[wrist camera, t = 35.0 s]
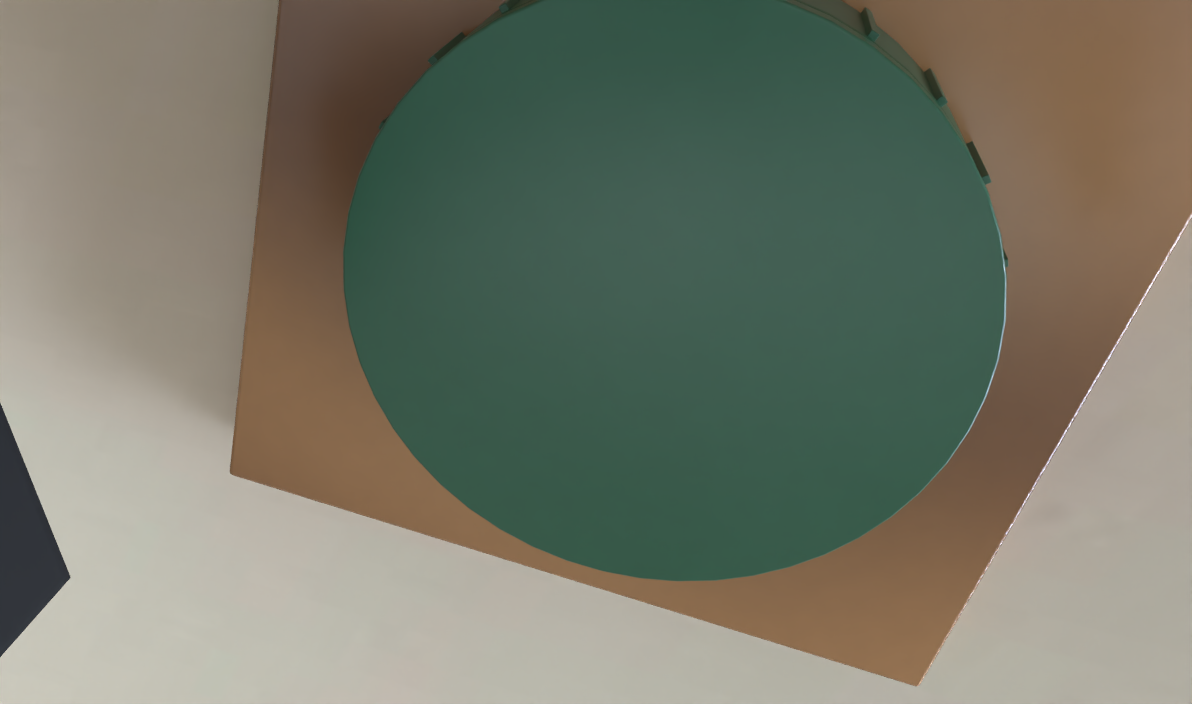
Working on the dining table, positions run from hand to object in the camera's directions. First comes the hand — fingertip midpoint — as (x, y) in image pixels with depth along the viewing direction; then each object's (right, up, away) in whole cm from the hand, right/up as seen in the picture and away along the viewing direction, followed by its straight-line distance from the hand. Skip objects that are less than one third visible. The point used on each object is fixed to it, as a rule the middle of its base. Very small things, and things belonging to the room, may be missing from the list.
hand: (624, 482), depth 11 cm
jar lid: (+1, +2, +3) cm, 4 cm away
